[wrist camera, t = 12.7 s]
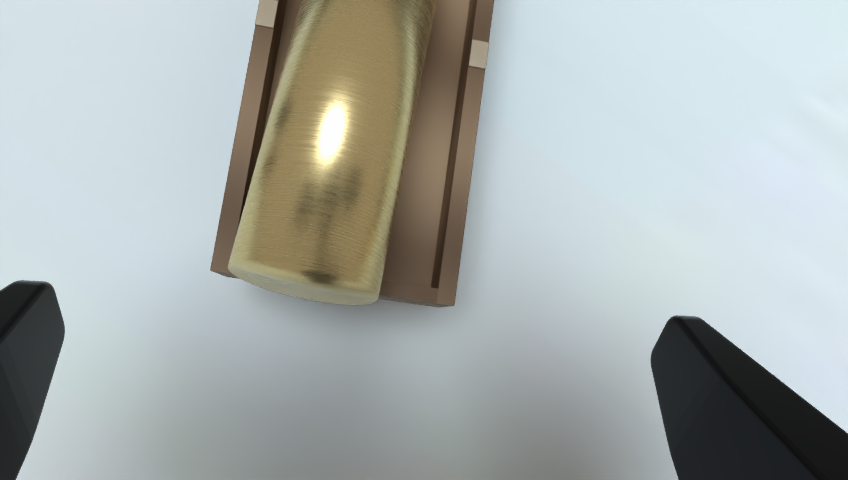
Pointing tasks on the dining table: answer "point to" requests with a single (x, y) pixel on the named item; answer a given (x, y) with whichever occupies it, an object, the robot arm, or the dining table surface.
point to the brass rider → (334, 151)
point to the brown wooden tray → (426, 156)
